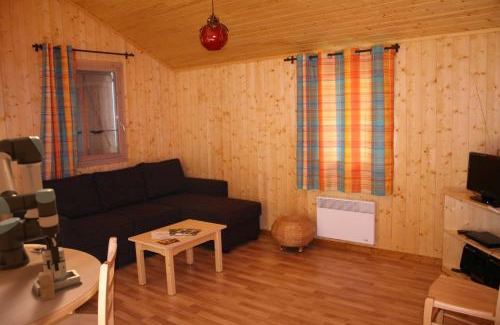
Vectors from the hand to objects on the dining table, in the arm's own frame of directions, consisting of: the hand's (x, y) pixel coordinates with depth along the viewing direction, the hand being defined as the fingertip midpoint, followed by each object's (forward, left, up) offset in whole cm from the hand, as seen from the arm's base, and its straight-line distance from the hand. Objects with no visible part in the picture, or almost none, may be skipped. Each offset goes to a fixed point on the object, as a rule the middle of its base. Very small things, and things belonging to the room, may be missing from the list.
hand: (56, 275), depth 183 cm
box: (+10, -6, -5) cm, 13 cm away
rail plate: (0, 0, -5) cm, 5 cm away
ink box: (0, 0, -1) cm, 1 cm away
